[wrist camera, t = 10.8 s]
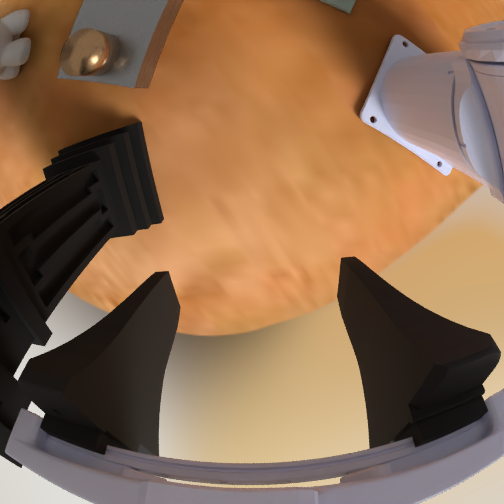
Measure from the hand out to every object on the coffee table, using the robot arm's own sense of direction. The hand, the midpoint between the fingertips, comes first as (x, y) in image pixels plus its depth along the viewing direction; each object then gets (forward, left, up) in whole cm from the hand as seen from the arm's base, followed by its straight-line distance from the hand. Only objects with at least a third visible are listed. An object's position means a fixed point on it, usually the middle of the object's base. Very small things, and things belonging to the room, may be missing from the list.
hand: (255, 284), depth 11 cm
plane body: (+14, -16, -10) cm, 24 cm away
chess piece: (+12, +3, -11) cm, 16 cm away
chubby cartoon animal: (+28, -7, -11) cm, 31 cm away
